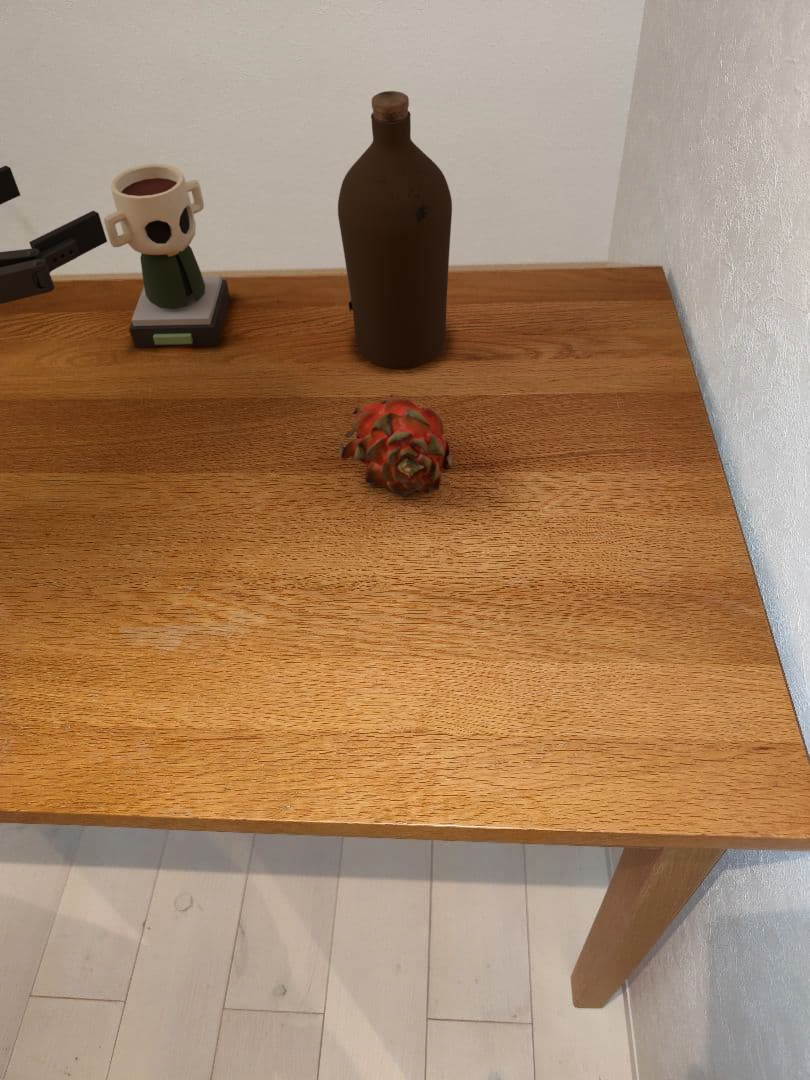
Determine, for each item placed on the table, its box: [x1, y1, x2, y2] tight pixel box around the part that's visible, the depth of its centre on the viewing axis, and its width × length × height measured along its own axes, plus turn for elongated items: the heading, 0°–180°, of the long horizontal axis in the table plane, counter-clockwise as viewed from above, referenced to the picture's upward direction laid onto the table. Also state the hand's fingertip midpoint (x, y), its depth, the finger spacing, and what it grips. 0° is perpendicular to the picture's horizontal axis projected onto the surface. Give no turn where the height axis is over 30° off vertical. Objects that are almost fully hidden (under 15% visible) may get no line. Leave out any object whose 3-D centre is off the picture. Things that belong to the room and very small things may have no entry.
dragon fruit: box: [338, 393, 455, 498], centre depth 79 cm, size 8×8×12 cm
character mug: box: [103, 163, 205, 309], centre depth 91 cm, size 11×7×13 cm, turn 133°
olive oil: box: [337, 90, 453, 370], centre depth 85 cm, size 11×11×25 cm
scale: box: [128, 274, 231, 348], centre depth 97 cm, size 9×10×3 cm
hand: (55, 202), depth 81 cm, fingers open, 13 cm apart
